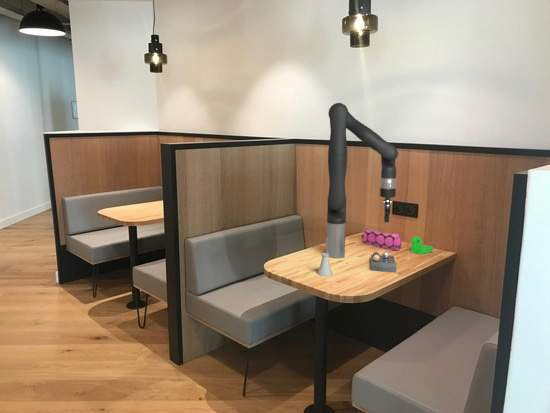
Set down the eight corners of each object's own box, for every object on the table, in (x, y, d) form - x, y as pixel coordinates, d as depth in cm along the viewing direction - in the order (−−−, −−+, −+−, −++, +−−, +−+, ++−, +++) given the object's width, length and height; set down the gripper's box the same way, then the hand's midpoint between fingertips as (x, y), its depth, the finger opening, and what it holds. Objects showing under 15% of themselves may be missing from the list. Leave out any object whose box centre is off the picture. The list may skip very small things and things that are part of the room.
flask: (322, 272, 199) (322, 250, 197) (336, 275, 195) (336, 253, 193) (313, 276, 194) (313, 254, 192) (327, 279, 189) (327, 257, 187)
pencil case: (360, 245, 244) (360, 228, 243) (369, 242, 251) (370, 225, 250) (395, 253, 230) (396, 234, 228) (403, 249, 237) (404, 231, 235)
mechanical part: (420, 254, 228) (421, 239, 227) (411, 251, 233) (411, 237, 231) (435, 250, 234) (435, 236, 233) (425, 248, 239) (426, 234, 238)
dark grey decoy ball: (372, 259, 210) (372, 252, 209) (372, 257, 213) (372, 251, 212) (379, 259, 209) (379, 253, 209) (379, 257, 212) (379, 251, 212)
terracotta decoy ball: (372, 262, 205) (373, 255, 205) (372, 260, 208) (373, 253, 208) (379, 262, 205) (380, 255, 204) (379, 260, 208) (379, 254, 207)
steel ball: (382, 258, 211) (382, 252, 210) (382, 256, 214) (382, 250, 213) (389, 259, 210) (389, 252, 210) (388, 257, 213) (389, 250, 213)
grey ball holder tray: (371, 270, 200) (371, 262, 200) (370, 259, 218) (371, 251, 217) (396, 272, 198) (396, 264, 197) (393, 260, 216) (393, 253, 215)
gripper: (379, 185, 220) (378, 218, 223) (380, 188, 207) (379, 224, 210) (395, 185, 219) (393, 219, 222) (397, 189, 206) (395, 225, 209)
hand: (386, 221), depth 216 cm, fingers closed
